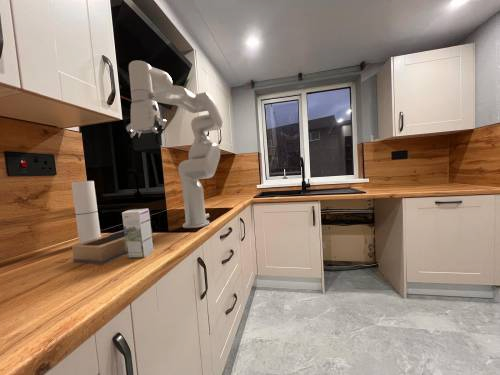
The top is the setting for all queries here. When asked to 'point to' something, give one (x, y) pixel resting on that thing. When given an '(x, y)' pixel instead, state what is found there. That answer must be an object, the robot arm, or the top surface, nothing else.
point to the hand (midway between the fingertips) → (147, 147)
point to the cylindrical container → (86, 210)
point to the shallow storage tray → (101, 249)
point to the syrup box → (137, 233)
